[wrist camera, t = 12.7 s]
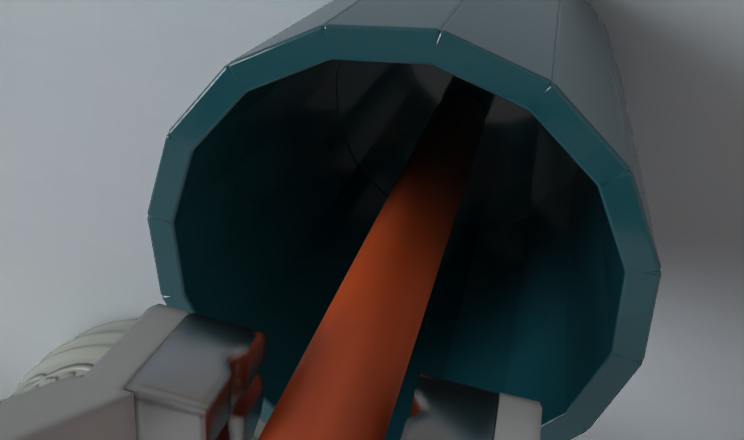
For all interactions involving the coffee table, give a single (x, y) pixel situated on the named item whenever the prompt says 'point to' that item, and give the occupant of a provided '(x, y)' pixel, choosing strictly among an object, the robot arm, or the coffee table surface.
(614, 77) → the teal cup
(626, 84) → the coffee table surface
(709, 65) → the coffee table surface
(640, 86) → the coffee table surface
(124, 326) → the jar
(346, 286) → the orange thin rod
